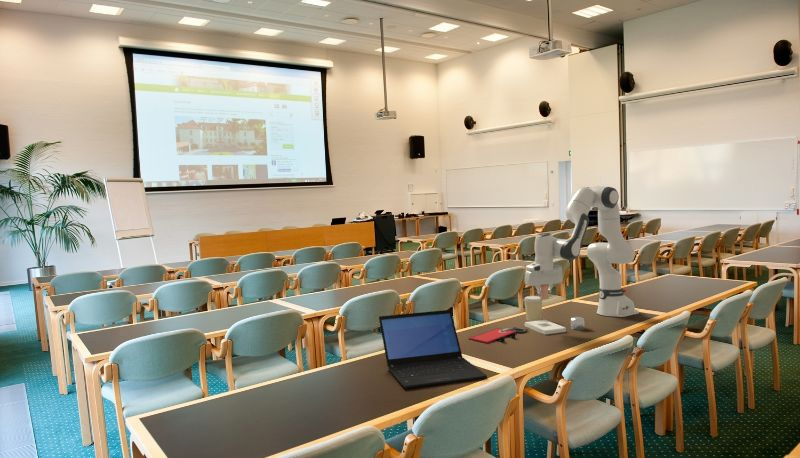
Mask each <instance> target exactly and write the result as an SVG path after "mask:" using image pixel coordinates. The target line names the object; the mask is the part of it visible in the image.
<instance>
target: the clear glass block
mask: <svg viewBox="0 0 800 458" xmlns="http://www.w3.org/2000/svg"><path fill="white" fill-rule="evenodd" d="M570 329H571V330H574V331H583V330H585V318H584V317H580V316H573V317H570Z"/></svg>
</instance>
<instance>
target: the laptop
mask: <svg viewBox="0 0 800 458" xmlns="http://www.w3.org/2000/svg"><path fill="white" fill-rule="evenodd" d="M378 320H379V326H380V331H381V332H380V333H381V337H382V342H383V349H384V355H385V358H386V366H387V367H388V370H389V371H390V373H391V374H392V375H393V376H394V377H395V379H396V380H397V381H398V382H399V383H400V385H402V387H403V388H404V389H406V390H410V389H415V388H421V387H422V388H423V387H428V386H438V385H444V384H445V385H446V384H452V383H458V382H468V381H473V380H482V379H486V378H487V377H488V375H487V374H485V373H484V372H483V371H482V370H480V368H478V367H477V366H476V365H474V364H472V363H471V362H470V361H468V360H467V359H466V358H465V357H463V353H462V349H461V345H460V342H459V337H458V334H457V329H456V326H455V322H454V318H453V314H452V311H450V309H443V310H433V311H432V310H431V311H425V312H424V311H421V312H412V313H403V314H392V315H391V314H390V315H382V316H381V315H379V316H378Z"/></svg>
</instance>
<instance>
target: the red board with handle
mask: <svg viewBox="0 0 800 458" xmlns="http://www.w3.org/2000/svg"><path fill="white" fill-rule="evenodd" d="M528 330H529V328H528V329H527V328H521V327H515V326H514V327H511V328H510V327H509V328H507V327H506V328H500V327H497V328H494V329H491V330H488V331H486V332H483V333H480V334H477V335H474V336H471V337H469V338H468V340H470V341H474V342H478V343H482V344H486V345H488V344H491V342H492V343H494V342H498V341H500V343H505V339H506V338H508V337H509V338H510V337H511V339H516V334H517V333H519V334H520V333H523V332H526V331H528Z"/></svg>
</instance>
